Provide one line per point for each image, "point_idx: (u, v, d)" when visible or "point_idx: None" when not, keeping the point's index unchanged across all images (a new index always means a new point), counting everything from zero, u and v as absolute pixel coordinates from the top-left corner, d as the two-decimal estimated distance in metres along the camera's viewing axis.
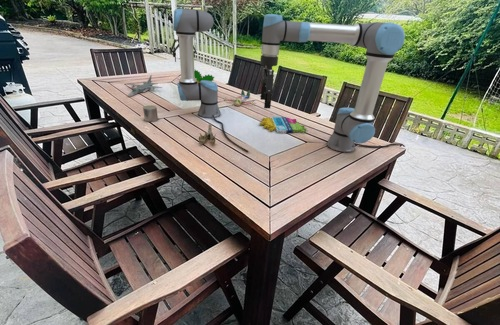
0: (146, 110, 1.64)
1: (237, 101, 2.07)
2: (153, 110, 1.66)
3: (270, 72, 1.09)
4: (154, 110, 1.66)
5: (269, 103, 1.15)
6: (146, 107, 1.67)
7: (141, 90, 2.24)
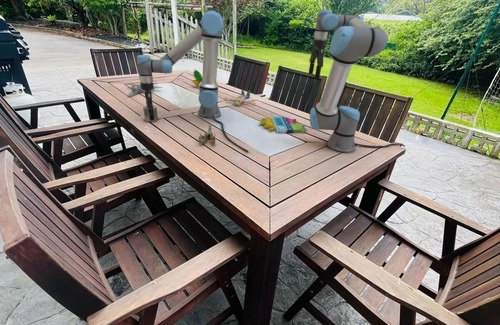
0: (146, 110, 1.64)
1: (237, 101, 2.07)
2: (153, 110, 1.66)
3: (321, 51, 1.53)
4: (154, 110, 1.66)
5: (319, 74, 1.59)
6: (146, 107, 1.67)
7: (141, 90, 2.24)
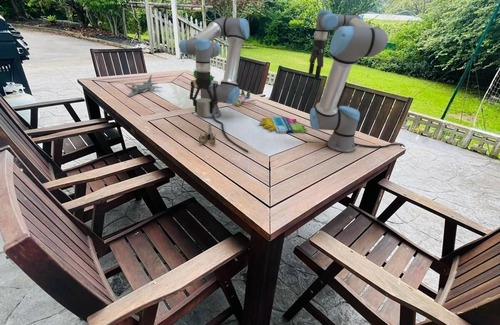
0: (208, 103, 1.44)
1: (237, 101, 2.07)
2: None
3: (321, 51, 1.53)
4: None
5: (319, 74, 1.59)
6: (202, 101, 1.45)
7: (141, 90, 2.24)
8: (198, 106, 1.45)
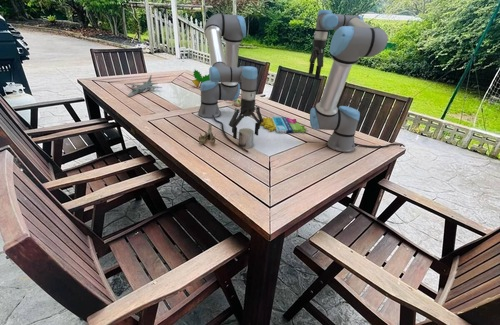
0: (253, 133, 1.43)
1: (237, 101, 2.07)
2: None
3: (321, 51, 1.53)
4: None
5: (319, 74, 1.59)
6: (247, 132, 1.41)
7: (141, 90, 2.24)
8: (245, 138, 1.41)
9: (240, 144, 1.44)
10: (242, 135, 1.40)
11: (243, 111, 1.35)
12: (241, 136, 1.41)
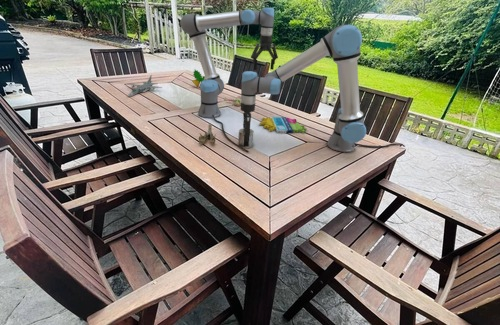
0: (253, 133, 1.43)
1: (237, 101, 2.07)
2: None
3: (248, 120, 1.33)
4: None
5: (247, 142, 1.41)
6: None
7: (141, 90, 2.24)
8: None
9: (240, 144, 1.44)
10: (242, 135, 1.40)
11: (262, 45, 1.70)
12: (241, 136, 1.41)
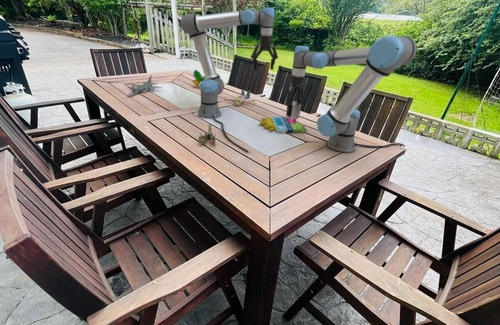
0: (298, 106, 1.53)
1: (237, 101, 2.07)
2: None
3: (289, 89, 1.47)
4: None
5: (289, 112, 1.54)
6: (293, 103, 1.54)
7: (141, 90, 2.24)
8: None
9: (286, 113, 1.59)
10: (287, 105, 1.55)
11: (262, 45, 1.70)
12: (287, 106, 1.56)
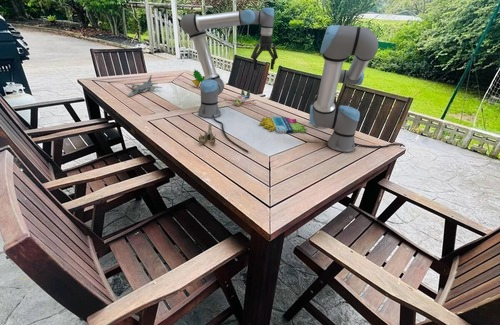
0: None
1: (237, 101, 2.07)
2: None
3: (315, 96, 1.70)
4: None
5: None
6: None
7: (141, 90, 2.24)
8: None
9: None
10: None
11: (262, 45, 1.70)
12: None
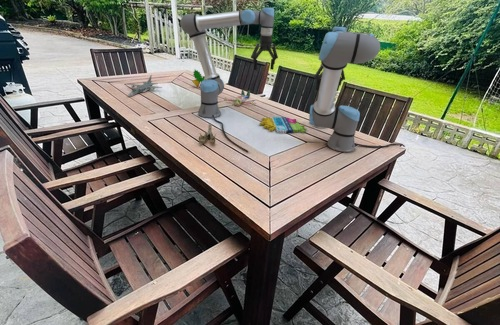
0: None
1: (237, 101, 2.07)
2: None
3: (321, 65, 1.60)
4: None
5: (317, 86, 1.66)
6: None
7: (141, 90, 2.24)
8: None
9: None
10: None
11: (262, 45, 1.70)
12: None
